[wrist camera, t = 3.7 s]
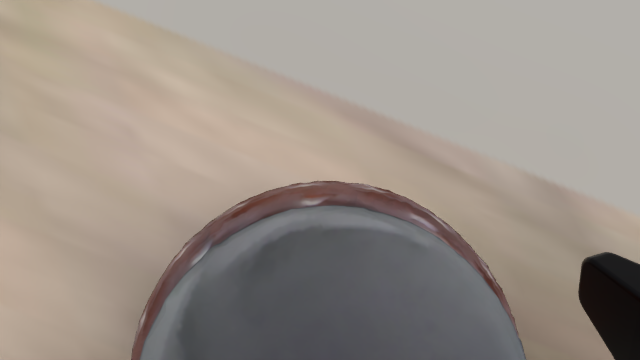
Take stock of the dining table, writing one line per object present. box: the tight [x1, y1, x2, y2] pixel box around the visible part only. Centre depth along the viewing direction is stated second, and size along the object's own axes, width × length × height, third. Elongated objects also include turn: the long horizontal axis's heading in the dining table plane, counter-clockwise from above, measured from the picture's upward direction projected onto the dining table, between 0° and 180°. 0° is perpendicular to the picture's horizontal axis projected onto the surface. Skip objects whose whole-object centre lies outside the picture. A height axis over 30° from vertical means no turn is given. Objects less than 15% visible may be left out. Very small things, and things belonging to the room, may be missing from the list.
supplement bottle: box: [131, 181, 526, 360], centre depth 10 cm, size 6×6×11 cm
